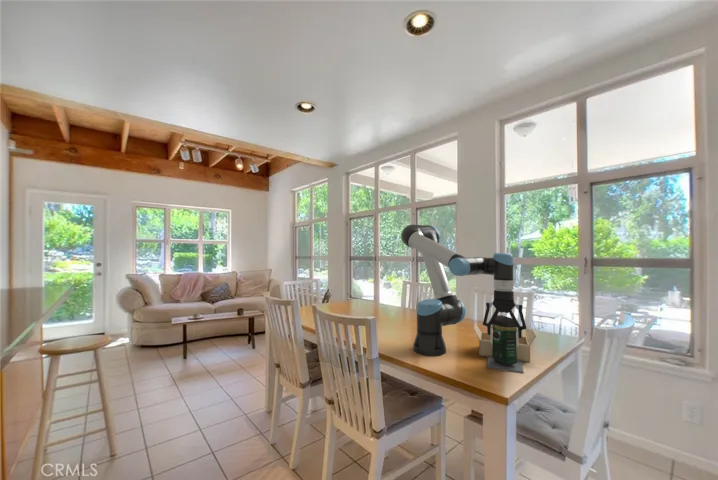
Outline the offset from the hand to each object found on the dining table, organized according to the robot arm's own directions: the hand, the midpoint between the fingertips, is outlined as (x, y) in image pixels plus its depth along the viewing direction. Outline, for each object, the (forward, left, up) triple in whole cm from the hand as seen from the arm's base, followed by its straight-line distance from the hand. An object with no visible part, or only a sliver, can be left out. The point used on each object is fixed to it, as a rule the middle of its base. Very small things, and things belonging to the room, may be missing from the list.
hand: (504, 344), depth 126 cm
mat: (0, 0, -8) cm, 8 cm away
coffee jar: (0, 0, -7) cm, 7 cm away
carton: (0, +15, -8) cm, 17 cm away
